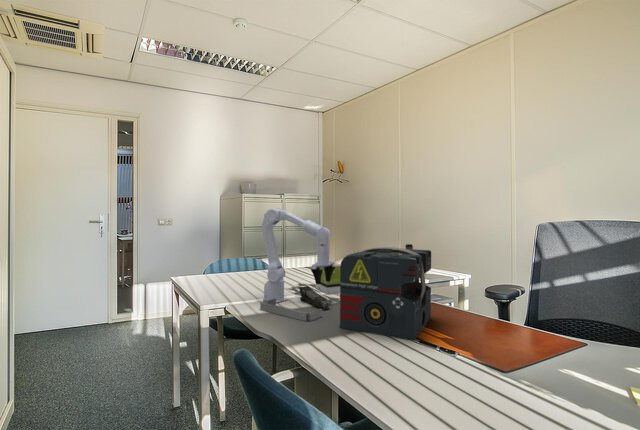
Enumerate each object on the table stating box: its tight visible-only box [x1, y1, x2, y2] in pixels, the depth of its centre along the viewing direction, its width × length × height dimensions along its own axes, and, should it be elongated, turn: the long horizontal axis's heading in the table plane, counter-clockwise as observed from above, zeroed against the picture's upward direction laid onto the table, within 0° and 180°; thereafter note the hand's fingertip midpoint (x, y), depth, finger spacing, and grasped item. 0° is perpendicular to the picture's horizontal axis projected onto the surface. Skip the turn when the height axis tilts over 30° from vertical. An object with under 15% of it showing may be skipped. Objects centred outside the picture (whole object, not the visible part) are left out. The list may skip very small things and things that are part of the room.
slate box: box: [259, 299, 323, 322], centre depth 153 cm, size 28×9×3 cm, turn 52°
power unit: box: [339, 243, 432, 341], centre depth 139 cm, size 28×28×30 cm
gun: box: [299, 285, 332, 311], centre depth 166 cm, size 4×20×10 cm, turn 35°
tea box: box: [315, 262, 341, 295], centre depth 194 cm, size 15×10×15 cm, turn 25°
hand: (323, 282), depth 169 cm, fingers open, 7 cm apart
